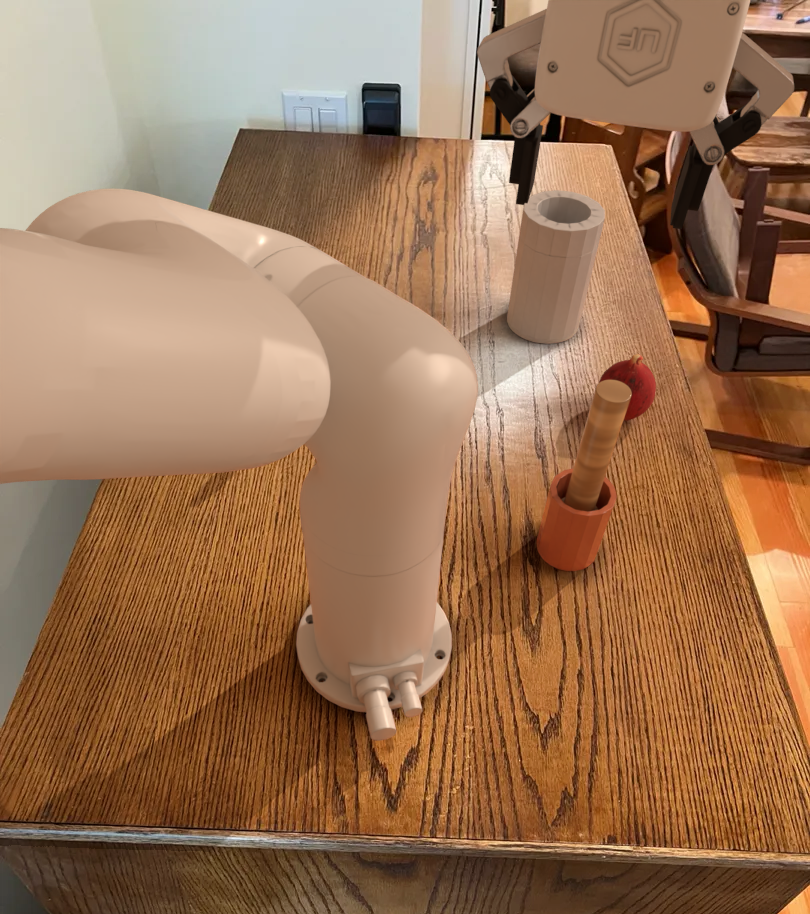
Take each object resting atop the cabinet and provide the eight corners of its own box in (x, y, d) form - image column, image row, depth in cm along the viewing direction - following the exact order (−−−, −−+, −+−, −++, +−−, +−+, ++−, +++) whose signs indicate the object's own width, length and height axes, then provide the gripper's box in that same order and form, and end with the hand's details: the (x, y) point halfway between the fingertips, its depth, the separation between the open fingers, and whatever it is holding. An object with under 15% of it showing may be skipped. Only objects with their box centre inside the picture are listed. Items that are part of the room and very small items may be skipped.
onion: (640, 442, 79) (663, 381, 73) (585, 429, 80) (603, 367, 74) (648, 407, 83) (669, 346, 77) (595, 395, 84) (612, 333, 78)
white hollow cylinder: (589, 339, 90) (617, 226, 80) (520, 347, 89) (539, 234, 78) (563, 298, 96) (586, 187, 85) (497, 305, 94) (513, 193, 84)
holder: (605, 569, 69) (627, 509, 62) (546, 579, 68) (563, 520, 62) (582, 524, 72) (601, 463, 66) (527, 533, 71) (541, 473, 65)
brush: (592, 559, 69) (647, 403, 55) (554, 565, 68) (600, 410, 54) (577, 529, 71) (626, 372, 57) (541, 535, 70) (581, 378, 56)
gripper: (484, -154, 34) (454, 214, 48) (889, -118, 32) (740, 259, 45) (511, -180, 39) (477, 161, 52) (867, -150, 37) (737, 200, 50)
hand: (599, 206), depth 49 cm, fingers open, 9 cm apart
